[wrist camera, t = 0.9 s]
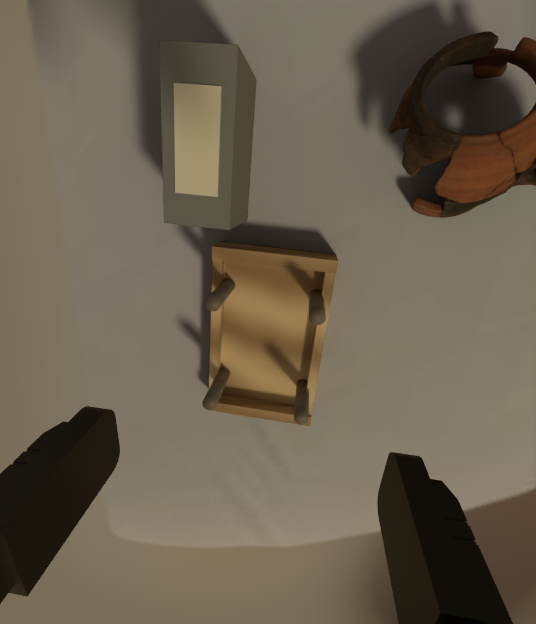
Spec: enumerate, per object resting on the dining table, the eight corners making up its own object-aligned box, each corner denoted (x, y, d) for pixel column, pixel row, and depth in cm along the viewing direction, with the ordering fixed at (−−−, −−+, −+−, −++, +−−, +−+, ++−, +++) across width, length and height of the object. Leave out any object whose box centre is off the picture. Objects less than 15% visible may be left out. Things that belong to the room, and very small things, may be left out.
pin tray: (220, 241, 29) (197, 255, 23) (335, 254, 28) (341, 272, 22) (214, 394, 34) (195, 435, 29) (309, 409, 34) (309, 453, 28)
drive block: (197, 75, 24) (158, 38, 18) (256, 79, 24) (237, 44, 18) (195, 214, 28) (163, 222, 22) (247, 220, 28) (229, 230, 22)
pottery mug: (370, 215, 27) (376, 153, 19) (403, 110, 28) (422, 8, 20) (541, 248, 23) (635, 188, 15) (574, 127, 24) (680, 10, 16)
